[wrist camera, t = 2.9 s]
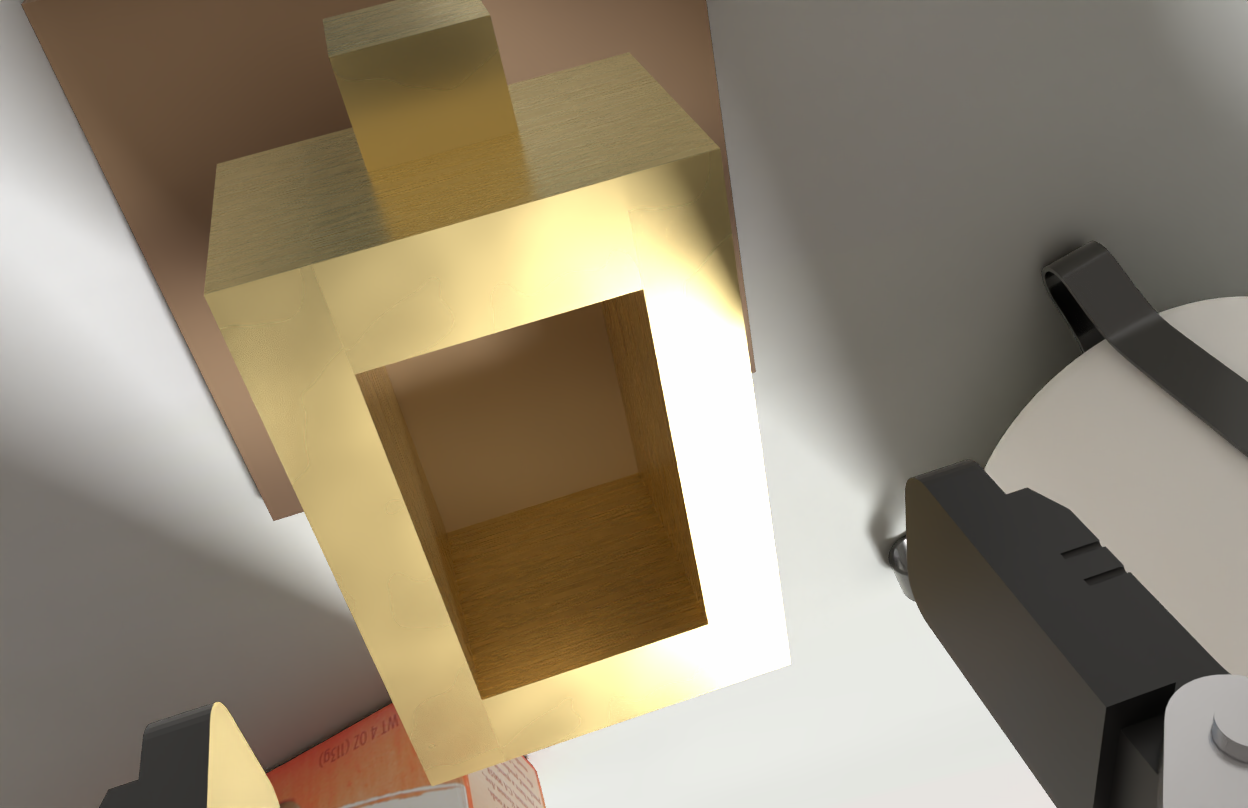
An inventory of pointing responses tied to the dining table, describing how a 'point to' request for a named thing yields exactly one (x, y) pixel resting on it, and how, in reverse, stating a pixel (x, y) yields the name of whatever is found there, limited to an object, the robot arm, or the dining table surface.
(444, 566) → the gold rectangular hollow block
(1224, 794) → the robot arm
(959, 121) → the dining table surface
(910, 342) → the dining table surface
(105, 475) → the dining table surface
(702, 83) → the brown piece
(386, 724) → the cracker box
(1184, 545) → the coffee press
